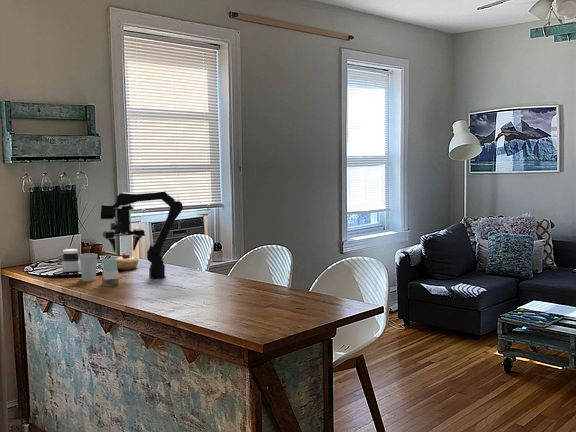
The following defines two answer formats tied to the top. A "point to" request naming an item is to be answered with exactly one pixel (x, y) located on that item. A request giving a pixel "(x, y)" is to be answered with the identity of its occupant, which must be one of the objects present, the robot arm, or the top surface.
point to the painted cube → (110, 264)
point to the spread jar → (70, 261)
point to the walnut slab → (109, 282)
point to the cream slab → (110, 274)
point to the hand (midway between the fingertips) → (124, 251)
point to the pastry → (126, 262)
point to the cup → (88, 266)
